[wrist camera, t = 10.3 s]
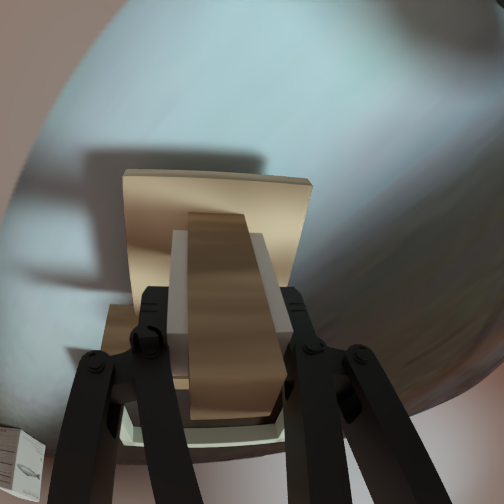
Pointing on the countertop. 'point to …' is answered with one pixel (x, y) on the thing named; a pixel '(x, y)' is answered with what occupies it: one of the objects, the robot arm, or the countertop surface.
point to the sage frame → (213, 434)
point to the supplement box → (20, 463)
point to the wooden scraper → (214, 277)
